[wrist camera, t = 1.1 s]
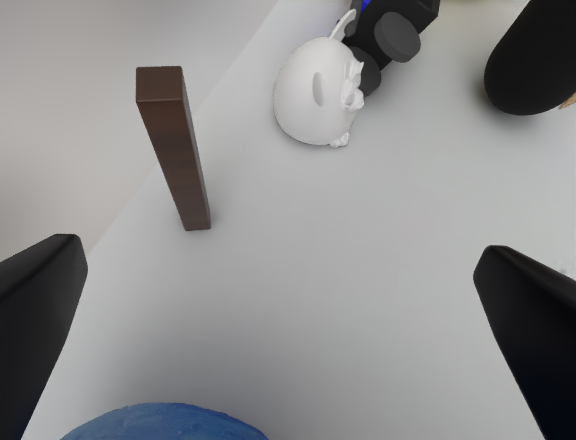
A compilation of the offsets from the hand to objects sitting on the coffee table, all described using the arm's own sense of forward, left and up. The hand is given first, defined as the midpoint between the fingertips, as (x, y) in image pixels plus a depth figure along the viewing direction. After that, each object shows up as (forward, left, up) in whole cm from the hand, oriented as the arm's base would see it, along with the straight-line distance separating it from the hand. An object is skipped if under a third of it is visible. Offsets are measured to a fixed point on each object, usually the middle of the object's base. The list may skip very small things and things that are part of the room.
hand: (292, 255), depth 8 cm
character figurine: (+26, +1, -15) cm, 30 cm away
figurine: (+16, +3, -15) cm, 22 cm away
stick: (+5, +7, -15) cm, 17 cm away
